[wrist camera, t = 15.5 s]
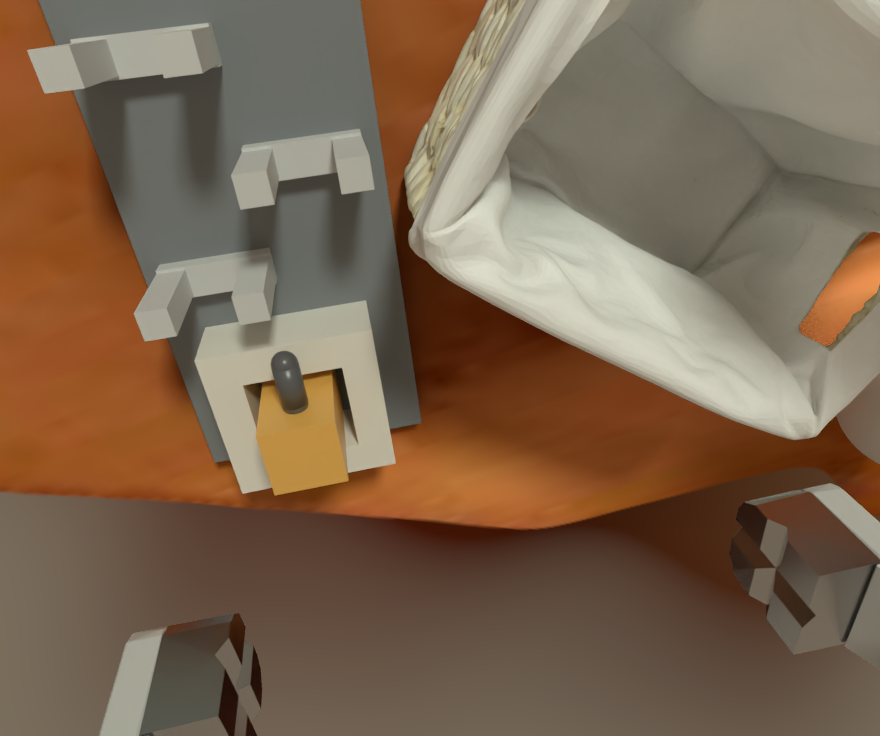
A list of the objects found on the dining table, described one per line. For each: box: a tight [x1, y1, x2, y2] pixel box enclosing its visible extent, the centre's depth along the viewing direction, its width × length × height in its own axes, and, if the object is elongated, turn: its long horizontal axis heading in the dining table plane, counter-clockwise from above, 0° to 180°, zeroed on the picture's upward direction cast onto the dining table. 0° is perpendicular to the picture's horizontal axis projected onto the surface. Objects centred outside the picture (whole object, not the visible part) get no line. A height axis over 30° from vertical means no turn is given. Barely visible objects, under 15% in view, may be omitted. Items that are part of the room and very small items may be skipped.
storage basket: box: [404, 0, 880, 440], centre depth 30 cm, size 24×16×15 cm
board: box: [27, 0, 422, 494], centre depth 31 cm, size 14×33×8 cm, turn 6°
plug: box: [256, 351, 349, 495], centre depth 35 cm, size 4×7×8 cm, turn 6°
